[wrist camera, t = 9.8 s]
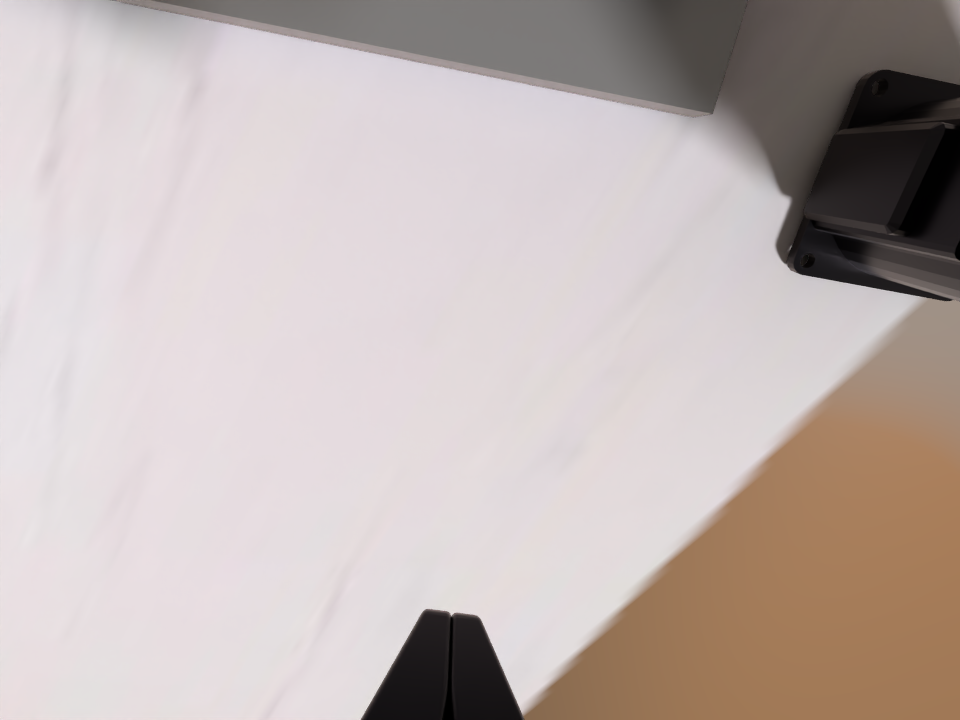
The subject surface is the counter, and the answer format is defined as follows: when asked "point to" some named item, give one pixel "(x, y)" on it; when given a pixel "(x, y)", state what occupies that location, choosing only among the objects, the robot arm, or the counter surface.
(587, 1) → the stand
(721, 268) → the counter surface
